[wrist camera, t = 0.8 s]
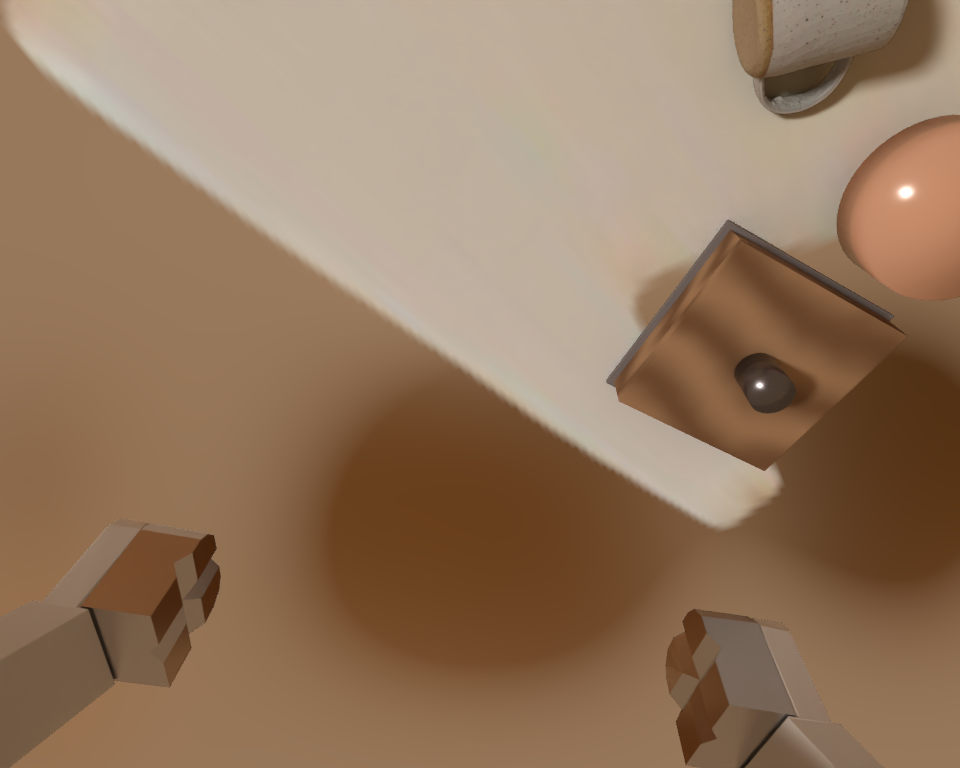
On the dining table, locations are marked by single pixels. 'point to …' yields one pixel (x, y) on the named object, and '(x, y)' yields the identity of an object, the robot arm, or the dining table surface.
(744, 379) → the lid
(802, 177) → the dining table surface
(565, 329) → the dining table surface
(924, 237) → the bowl
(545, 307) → the dining table surface
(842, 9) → the ceramic mug
